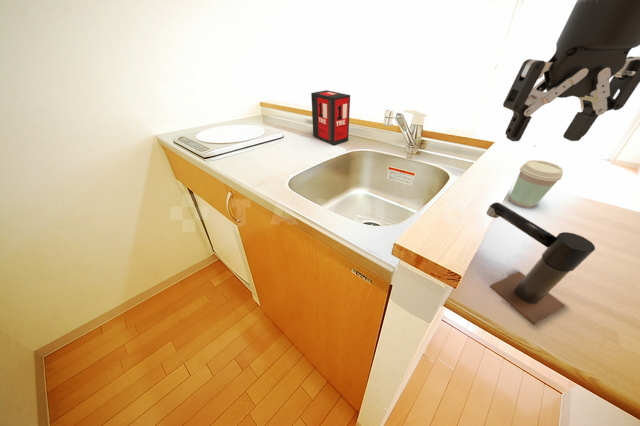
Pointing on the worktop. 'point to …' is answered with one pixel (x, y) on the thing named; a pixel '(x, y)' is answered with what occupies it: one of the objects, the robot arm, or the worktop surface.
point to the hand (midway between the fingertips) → (540, 139)
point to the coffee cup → (534, 182)
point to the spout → (548, 240)
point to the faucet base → (532, 291)
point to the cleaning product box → (330, 116)
